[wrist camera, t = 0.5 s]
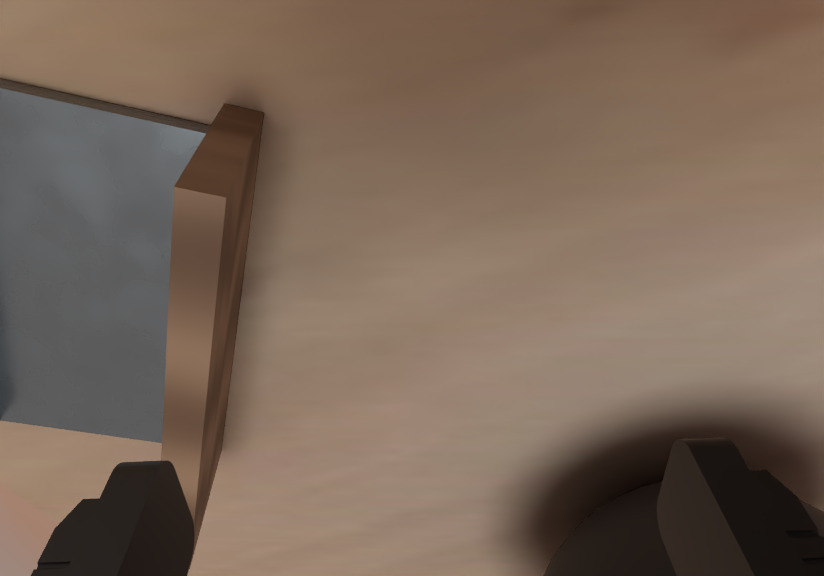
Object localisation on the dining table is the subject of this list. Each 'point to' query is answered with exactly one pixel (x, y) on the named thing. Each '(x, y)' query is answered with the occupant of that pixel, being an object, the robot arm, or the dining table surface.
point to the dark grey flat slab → (86, 259)
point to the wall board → (207, 297)
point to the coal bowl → (625, 539)
